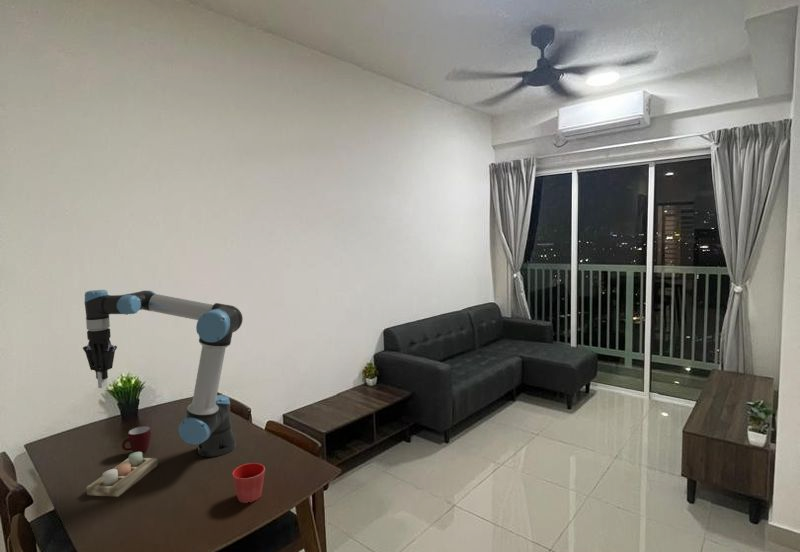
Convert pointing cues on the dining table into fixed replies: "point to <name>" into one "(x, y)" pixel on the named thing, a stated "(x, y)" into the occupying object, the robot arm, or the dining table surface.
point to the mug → (138, 439)
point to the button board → (122, 479)
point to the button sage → (135, 458)
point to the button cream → (110, 476)
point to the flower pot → (249, 481)
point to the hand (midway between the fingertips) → (102, 386)
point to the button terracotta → (124, 469)
